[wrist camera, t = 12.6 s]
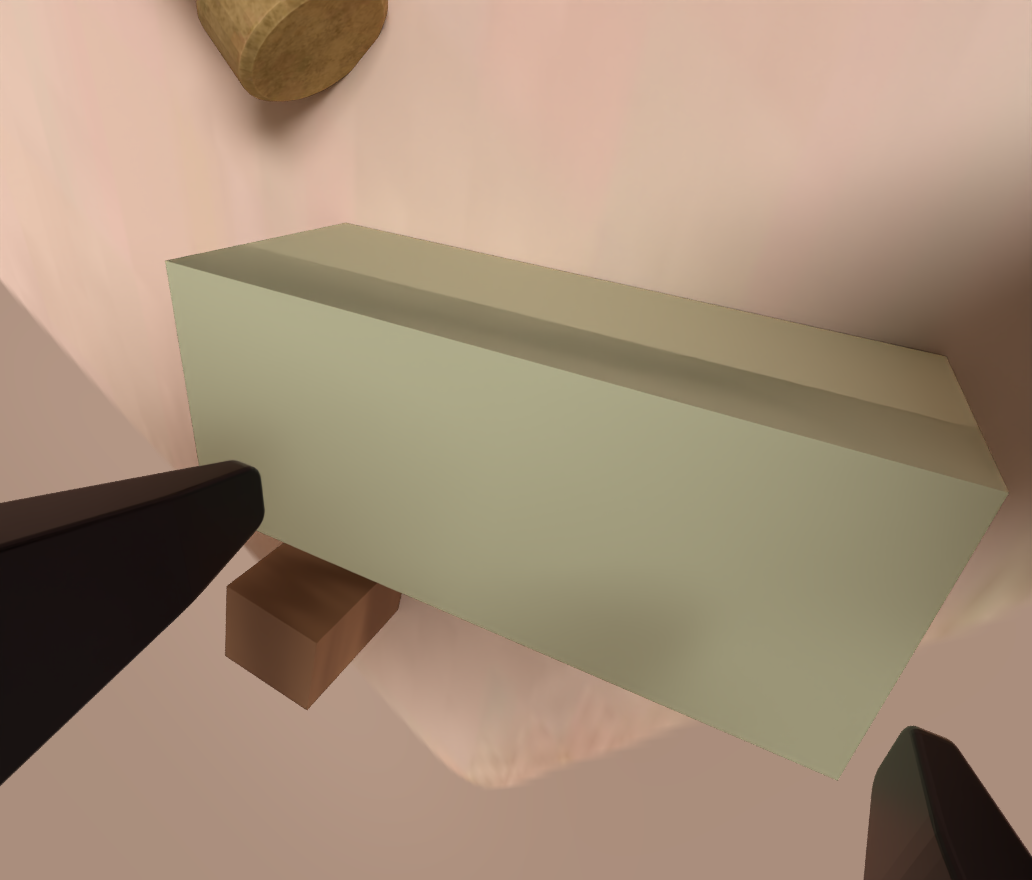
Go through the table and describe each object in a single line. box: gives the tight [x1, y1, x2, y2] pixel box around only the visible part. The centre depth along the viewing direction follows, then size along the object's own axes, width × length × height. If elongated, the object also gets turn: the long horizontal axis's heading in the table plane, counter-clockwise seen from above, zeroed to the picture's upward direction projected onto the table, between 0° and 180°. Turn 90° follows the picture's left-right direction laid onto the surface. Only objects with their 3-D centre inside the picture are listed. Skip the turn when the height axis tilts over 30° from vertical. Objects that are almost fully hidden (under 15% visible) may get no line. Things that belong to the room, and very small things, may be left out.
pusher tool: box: [225, 543, 402, 710], centre depth 23 cm, size 4×14×6 cm, turn 163°
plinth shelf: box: [165, 223, 1009, 781], centre depth 17 cm, size 18×8×7 cm, turn 83°
